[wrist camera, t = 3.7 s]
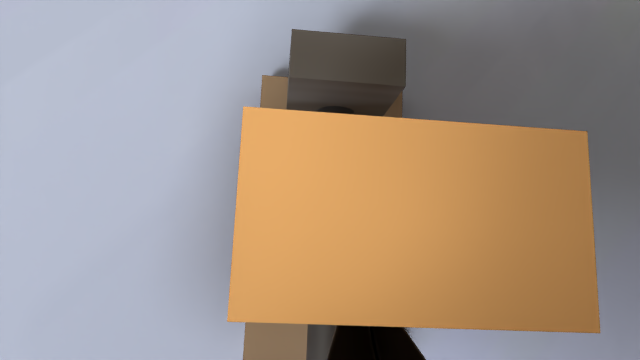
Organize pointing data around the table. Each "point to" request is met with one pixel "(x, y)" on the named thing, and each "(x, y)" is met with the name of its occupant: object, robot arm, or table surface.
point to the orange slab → (412, 224)
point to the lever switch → (331, 97)
